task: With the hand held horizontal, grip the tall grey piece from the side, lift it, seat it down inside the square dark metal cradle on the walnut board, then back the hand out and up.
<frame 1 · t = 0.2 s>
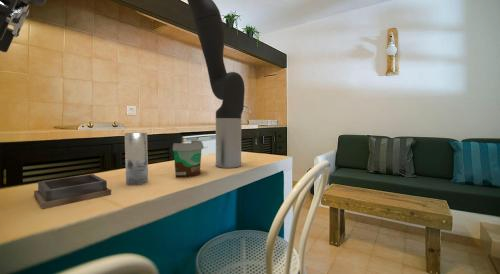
holder: (73, 194, 50), on the breakfast bar
grey piece: (137, 182, 60), on the breakfast bar
food container: (192, 175, 70), on the breakfast bar
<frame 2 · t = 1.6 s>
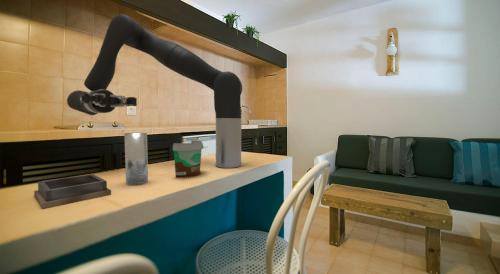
hand: (118, 99, 66), 22 cm above the breakfast bar, tool horizontal, fingers open, 8 cm apart
nothing on the breakfast bar moved.
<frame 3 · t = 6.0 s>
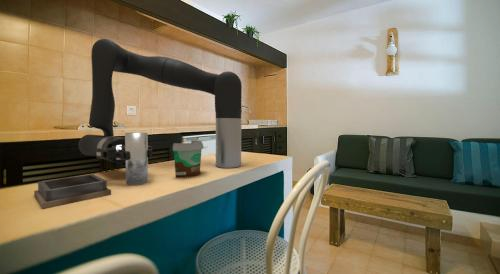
hand: (139, 154, 58), 8 cm above the breakfast bar, tool horizontal, fingers closed on grey piece, 5 cm apart
grey piece: (137, 182, 60), on the breakfast bar, touching gripper
everything else where it was.
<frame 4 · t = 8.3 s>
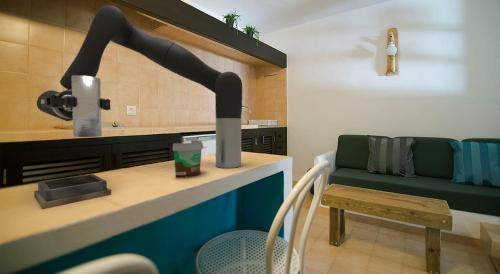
hand: (88, 102, 50), 20 cm above the breakfast bar, tool horizontal, fingers closed on grey piece, 5 cm apart
grey piece: (87, 136, 52), point 13 cm above the breakfast bar, touching gripper
everything else where it was.
when the fingers open (10 cm above the breakfast bar, at t = 11.0 s): grey piece drops 1 cm, resting on holder.
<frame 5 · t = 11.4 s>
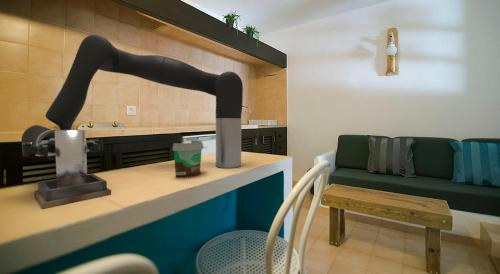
hand: (72, 149, 48), 10 cm above the breakfast bar, tool horizontal, fingers open, 8 cm apart
grey piece: (72, 190, 50), point 1 cm above the breakfast bar, touching holder
everything else where it was.
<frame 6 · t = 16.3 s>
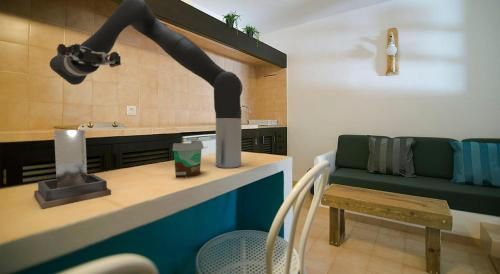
hand: (98, 51, 60), 34 cm above the breakfast bar, tool horizontal, fingers open, 8 cm apart
nothing on the breakfast bar moved.
at the end: grey piece 0.1 cm off-centre on the holder, point 1.0 cm above the holder's base; grey piece tilted 0°; the gripper is holding nothing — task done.
